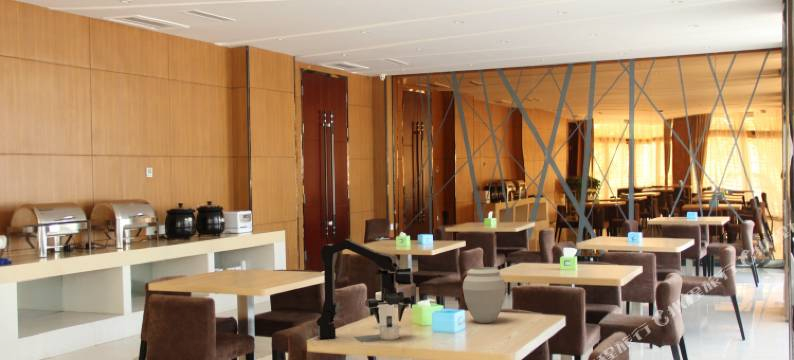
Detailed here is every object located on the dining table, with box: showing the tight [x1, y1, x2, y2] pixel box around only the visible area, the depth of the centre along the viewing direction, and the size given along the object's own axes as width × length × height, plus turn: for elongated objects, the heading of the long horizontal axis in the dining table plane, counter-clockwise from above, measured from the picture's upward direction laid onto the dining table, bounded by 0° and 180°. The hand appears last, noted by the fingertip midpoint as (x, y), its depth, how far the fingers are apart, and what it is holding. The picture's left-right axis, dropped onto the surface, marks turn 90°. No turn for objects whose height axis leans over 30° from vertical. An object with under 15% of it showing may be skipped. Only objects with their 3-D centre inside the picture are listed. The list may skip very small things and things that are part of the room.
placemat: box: [353, 333, 402, 343], centre depth 337 cm, size 17×14×1 cm
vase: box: [462, 266, 507, 324], centre depth 368 cm, size 20×20×24 cm
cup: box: [375, 291, 396, 330], centre depth 361 cm, size 8×8×16 cm
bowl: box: [379, 328, 400, 341], centre depth 336 cm, size 8×8×4 cm
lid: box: [378, 316, 402, 330], centre depth 336 cm, size 8×8×5 cm
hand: (389, 322), depth 336 cm, fingers open, 9 cm apart
